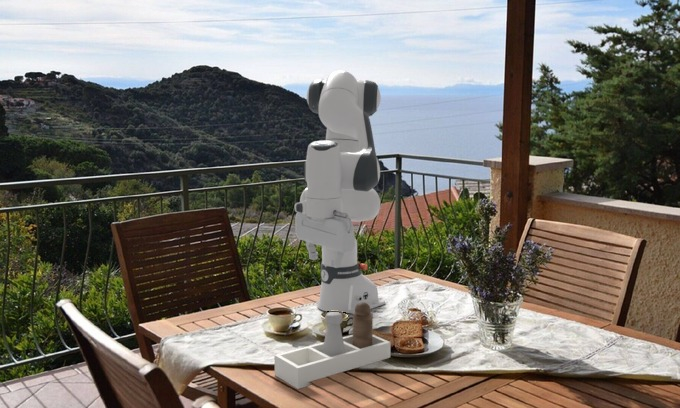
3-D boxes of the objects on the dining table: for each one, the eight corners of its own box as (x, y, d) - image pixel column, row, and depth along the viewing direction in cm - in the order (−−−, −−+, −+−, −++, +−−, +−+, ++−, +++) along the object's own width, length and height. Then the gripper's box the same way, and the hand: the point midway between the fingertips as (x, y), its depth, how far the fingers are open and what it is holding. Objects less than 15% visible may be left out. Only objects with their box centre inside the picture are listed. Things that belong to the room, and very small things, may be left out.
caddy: (365, 349, 177) (365, 331, 177) (390, 361, 170) (390, 342, 169) (274, 374, 161) (274, 355, 160) (297, 389, 153) (297, 368, 152)
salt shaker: (343, 369, 162) (343, 317, 160) (320, 367, 163) (319, 316, 161) (347, 360, 167) (347, 310, 165) (324, 358, 168) (324, 308, 166)
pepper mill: (363, 350, 174) (364, 298, 172) (376, 356, 170) (376, 303, 168) (348, 355, 171) (348, 302, 169) (361, 361, 167) (361, 306, 165)
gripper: (361, 212, 157) (361, 269, 159) (310, 201, 173) (311, 253, 175) (339, 216, 153) (340, 274, 155) (290, 203, 169) (291, 257, 171)
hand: (324, 263), depth 165 cm, fingers open, 8 cm apart
